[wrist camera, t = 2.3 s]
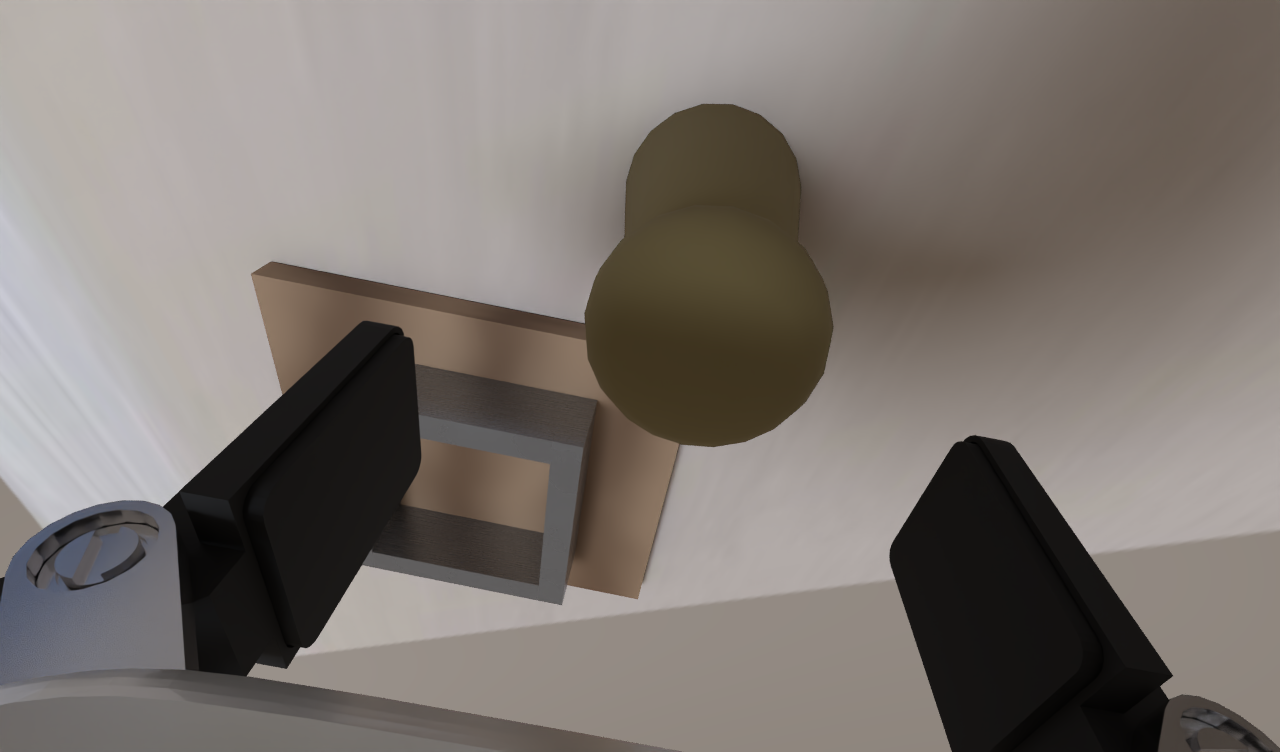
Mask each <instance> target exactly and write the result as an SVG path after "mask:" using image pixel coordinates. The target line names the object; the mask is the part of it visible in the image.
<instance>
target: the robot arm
mask: <svg viewBox="0 0 1280 752" xmlns="http://www.w3.org/2000/svg"><path fill="white" fill-rule="evenodd" d="M420 464H421V440H420V426H419V413H418V399H417V385H416V371H415V357H414V345H413V341H412V339H411V338H410V337H406V336H404V332H403V330H402V329H401V328H400V327H399V326H394V325H388V324H383V323H378V322H372V321H362V322H361V323H359V324H358V325H357V326H356V327H355V328H354V329H353V330H352V331H351V332H350V333H348V334H347V335H346V336H345V337H344V338H343V339H342V340H341V341H340V342H339V343H338V344H337V345H336V346H335V347H333V348H332V349H331V350H330V351H329V352H328V353H327V354H326V355H325V356H324V357H323V358H322V359H321V360H319V361H318V362H317V363H316V364H315V365H314V366H313V367H312V368H311V369H310V370H309V371H308V372H307V373H306V374H304V375H303V376H302V377H301V378H300V379H299V380H298V381H297V382H296V383H295V384H294V385H293V386H292V387H291V388H289V389H288V390H287V391H286V392H285V393H284V394H283V395H282V396H281V397H280V398H279V399H278V400H277V401H275V402H274V403H273V404H272V405H271V406H270V407H269V408H268V409H267V410H266V411H265V412H264V413H263V414H262V415H260V416H259V417H258V418H257V419H256V420H255V421H254V422H253V423H252V424H251V425H250V426H249V427H248V428H246V429H245V430H244V431H243V432H242V433H241V434H240V435H239V436H238V437H237V438H236V439H235V440H234V441H233V442H231V443H230V444H229V445H228V446H227V447H226V448H225V449H224V450H223V451H222V452H221V453H220V454H219V455H218V456H216V457H215V458H214V459H213V460H212V461H211V462H210V463H209V464H208V465H207V466H206V467H205V468H204V469H202V470H201V471H200V472H199V473H198V474H197V475H196V476H195V477H194V478H193V479H192V480H191V481H190V482H189V483H187V484H186V485H185V486H184V487H183V488H182V489H181V490H180V491H179V492H178V493H177V494H176V495H175V496H174V497H173V498H172V499H171V500H170V501H169V502H167V503H166V504H165V505H164V506H163V507H162V506H160V505H158V504H154V503H150V502H146V501H126V500H122V501H116V502H110V503H104V504H98V505H95V506H92V507H89V508H86V509H83V510H80V511H77V512H74V513H72V514H70V515H68V516H66V517H64V518H62V519H60V520H58V521H56V522H54V523H52V524H50V525H48V526H47V527H45V528H44V529H43V530H41V531H40V532H38V533H37V534H36V535H34V536H33V537H31V538H30V539H29V540H28V541H27V542H26V543H25V544H24V545H23V546H22V547H21V548H20V550H19V551H18V552H17V553H16V554H15V555H14V556H13V558H12V560H11V562H10V565H9V567H8V569H7V571H6V574H5V577H3V578H0V752H681V751H676V750H670V749H665V748H660V747H654V746H648V745H643V744H638V743H632V742H627V741H621V740H615V739H610V738H604V737H599V736H594V735H588V734H583V733H577V732H572V731H566V730H560V729H555V728H549V727H543V726H537V725H532V724H527V723H521V722H515V721H510V720H504V719H498V718H493V717H487V716H481V715H476V714H470V713H465V712H459V711H453V710H448V709H442V708H436V707H431V706H425V705H419V704H414V703H408V702H402V701H397V700H391V699H385V698H380V697H373V696H367V695H361V694H354V693H348V692H342V691H336V690H329V689H323V688H317V687H310V686H305V685H298V684H292V683H286V682H279V681H273V680H267V679H260V678H254V677H246V676H247V675H248V673H249V672H250V670H251V669H252V667H253V666H254V665H255V663H258V664H263V665H269V666H275V667H280V668H285V669H287V668H288V666H289V664H290V663H291V661H292V660H293V658H294V656H295V655H296V653H297V652H298V650H299V648H300V647H303V648H308V647H310V646H311V645H312V644H313V643H314V642H315V641H316V639H317V638H318V636H319V635H320V633H321V631H322V630H323V628H324V626H325V625H326V623H327V621H328V620H329V618H330V617H331V615H332V613H333V612H334V610H335V608H336V607H337V605H338V603H339V602H340V600H341V598H342V597H343V595H344V594H345V592H346V590H347V589H348V587H349V585H350V584H351V582H352V580H353V579H354V577H355V575H356V574H357V572H358V571H359V569H360V567H361V566H362V564H363V562H364V561H365V559H366V557H367V556H368V554H369V552H370V551H371V549H372V548H373V546H374V544H375V543H376V541H377V539H378V538H379V536H380V534H381V533H382V531H383V530H384V528H385V526H386V525H387V523H388V521H389V520H390V518H391V516H392V515H393V513H394V511H395V510H396V508H397V507H398V505H399V503H400V502H401V500H402V498H403V497H404V495H405V493H406V492H407V490H408V488H409V487H410V485H411V484H412V482H413V480H414V479H415V477H416V475H417V473H418V470H419V468H420ZM889 556H890V564H891V568H892V571H893V574H894V577H895V580H896V583H897V586H898V589H899V592H900V595H901V598H902V601H903V604H904V607H905V610H906V613H907V616H908V619H909V622H910V625H911V629H912V631H913V635H914V638H915V641H916V644H917V647H918V650H919V653H920V656H921V659H922V662H923V665H924V668H925V671H926V674H927V677H928V680H929V683H930V686H931V689H932V692H933V695H934V698H935V701H936V704H937V708H938V710H939V714H940V717H941V720H942V723H943V726H944V729H945V732H946V735H947V738H948V741H949V744H950V747H951V750H952V752H1280V748H1279V747H1278V746H1277V745H1276V744H1275V743H1274V742H1273V741H1272V740H1270V739H1269V738H1268V737H1267V736H1266V735H1265V734H1264V733H1263V732H1262V731H1260V730H1259V729H1257V728H1256V727H1255V726H1253V725H1252V724H1251V723H1249V722H1248V721H1247V720H1245V719H1244V718H1243V717H1241V716H1240V715H1238V714H1236V713H1234V712H1233V711H1231V710H1229V709H1227V708H1225V707H1224V706H1222V705H1220V704H1218V703H1216V702H1213V701H1210V700H1207V699H1205V698H1202V697H1199V696H1192V695H1179V696H1177V697H1174V698H1171V699H1168V698H1167V696H1166V695H1165V693H1164V692H1163V690H1162V689H1161V687H1160V686H1161V685H1162V684H1163V683H1165V682H1166V681H1167V680H1168V679H1170V678H1171V677H1172V676H1173V675H1172V673H1171V672H1170V671H1169V669H1168V668H1167V666H1166V665H1165V663H1164V662H1163V660H1162V659H1161V658H1160V656H1159V655H1158V653H1157V652H1156V650H1155V649H1154V648H1153V646H1152V645H1151V643H1150V642H1149V640H1148V639H1147V637H1146V636H1145V634H1144V633H1143V632H1142V630H1141V629H1140V627H1139V626H1138V624H1137V623H1136V621H1135V620H1134V619H1133V617H1132V616H1131V614H1130V613H1129V611H1128V610H1127V609H1126V607H1125V606H1124V604H1123V603H1122V601H1121V600H1120V599H1119V597H1118V596H1117V594H1116V593H1115V591H1114V590H1113V589H1112V587H1111V586H1110V584H1109V583H1108V581H1107V580H1106V578H1105V577H1104V575H1103V574H1102V573H1101V571H1100V570H1099V568H1098V567H1097V565H1096V564H1095V562H1094V561H1093V559H1092V558H1091V557H1090V555H1089V554H1088V552H1087V551H1086V549H1085V548H1084V546H1083V545H1082V544H1081V542H1080V541H1079V539H1078V538H1077V536H1076V535H1075V533H1074V532H1073V531H1072V529H1071V528H1070V526H1069V525H1068V523H1067V522H1066V521H1065V519H1064V518H1063V516H1062V515H1061V513H1060V512H1059V510H1058V509H1057V508H1056V506H1055V505H1054V503H1053V502H1052V500H1051V499H1050V497H1049V496H1048V495H1047V493H1046V492H1045V490H1044V489H1043V487H1042V486H1041V484H1040V483H1039V482H1038V480H1037V479H1036V477H1035V476H1034V474H1033V473H1032V471H1031V470H1030V469H1029V467H1028V466H1027V464H1026V463H1025V461H1024V460H1023V458H1022V457H1021V456H1020V454H1019V453H1018V451H1017V450H1016V448H1015V447H1014V446H1013V445H1012V444H1011V443H1009V442H1006V441H1002V440H997V439H991V438H986V437H981V436H976V435H974V436H969V437H968V438H966V439H965V440H964V441H963V442H962V441H961V442H957V443H955V444H954V445H953V446H952V448H951V449H950V451H949V453H948V454H947V456H946V457H945V459H944V461H943V462H942V464H941V465H940V467H939V469H938V470H937V472H936V473H935V475H934V477H933V478H932V480H931V482H930V483H929V485H928V486H927V488H926V490H925V491H924V493H923V494H922V496H921V498H920V499H919V501H918V502H917V504H916V506H915V507H914V509H913V511H912V512H911V514H910V515H909V517H908V519H907V520H906V522H905V523H904V525H903V527H902V528H901V530H900V531H899V533H898V535H897V536H896V538H895V539H894V541H893V543H892V545H891V548H890V555H889Z"/></svg>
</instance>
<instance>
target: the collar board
mask: <svg viewBox="0 0 1280 752" xmlns="http://www.w3.org/2000/svg"><path fill="white" fill-rule="evenodd" d="M251 276H252V280H253V283H254V287H255V291H256V295H257V299H258V302H259V306H260V310H261V314H262V318H263V322H264V325H265V329H266V333H267V337H268V341H269V345H270V348H271V352H272V356H273V360H274V364H275V368H276V371H277V375H278V379H279V383H280V387H281V391H282V394H284V393H285V392H286V391H287V390H288V389H289V388H291V387H292V386H293V385H294V384H295V383H296V382H297V381H298V380H299V379H300V378H301V377H302V376H303V375H304V374H306V373H307V372H308V371H309V370H310V369H311V368H312V367H313V366H314V365H315V364H316V363H317V362H318V361H319V360H321V359H322V358H323V357H324V356H325V355H326V354H327V353H328V352H329V351H330V350H331V349H332V348H333V347H335V346H336V345H337V344H338V343H339V342H340V341H341V340H342V339H343V338H344V337H345V336H346V335H347V334H348V333H350V332H351V331H352V330H353V329H354V328H355V327H356V326H357V325H358V324H359V323H361V322H362V321H372V322H378V323H383V324H388V325H394V326H399V327H400V328H401V329H402V330H403V332H404V336H406V337H410V338H411V339H412V341H413V345H414V357H415V364H419V365H424V366H429V367H434V368H439V369H444V370H449V371H454V372H459V373H464V374H469V375H474V376H480V377H485V378H490V379H495V380H500V381H505V382H510V383H515V384H520V385H525V386H530V387H535V388H540V389H545V390H550V391H555V392H560V393H565V394H570V395H575V396H580V397H585V398H590V399H595V400H597V407H596V414H595V420H594V427H593V434H592V441H591V448H590V455H589V461H588V468H587V475H586V482H585V489H584V496H583V502H582V509H581V516H580V523H579V530H578V537H577V543H576V550H575V556H574V560H573V564H572V568H571V571H570V575H569V579H568V583H567V585H570V586H575V587H580V588H585V589H590V590H595V591H600V592H605V593H610V594H615V595H620V596H625V597H630V598H634V599H638V596H639V592H640V589H641V585H642V581H643V577H644V574H645V570H646V566H647V562H648V559H649V555H650V551H651V548H652V544H653V540H654V536H655V533H656V529H657V525H658V521H659V518H660V514H661V510H662V507H663V503H664V499H665V495H666V492H667V488H668V484H669V480H670V477H671V473H672V469H673V465H674V462H675V458H676V454H677V451H678V447H679V443H676V442H673V441H669V440H666V439H663V438H660V437H657V436H654V435H652V434H650V433H649V432H647V431H646V430H644V429H642V428H641V427H639V426H638V425H636V424H635V423H633V422H631V421H630V420H628V419H627V418H626V417H625V416H624V415H623V413H622V412H621V411H620V410H619V409H618V408H617V407H616V406H615V404H614V403H613V402H612V401H611V400H610V399H609V398H608V397H607V395H606V394H605V393H604V392H603V391H602V389H601V388H600V386H599V384H598V382H597V379H596V377H595V375H594V372H593V370H592V368H591V366H590V363H589V361H588V357H587V344H586V328H585V324H582V323H577V322H572V321H567V320H562V319H557V318H552V317H547V316H542V315H537V314H532V313H527V312H522V311H517V310H512V309H507V308H502V307H497V306H492V305H486V304H481V303H476V302H471V301H466V300H461V299H456V298H451V297H446V296H441V295H436V294H431V293H426V292H421V291H416V290H411V289H406V288H401V287H396V286H391V285H386V284H381V283H376V282H371V281H366V280H361V279H356V278H351V277H346V276H340V275H335V274H330V273H325V272H320V271H315V270H310V269H305V268H300V267H295V266H290V265H285V264H280V263H275V262H269V263H268V264H266V265H265V266H263V267H261V268H260V269H258V270H256V271H255V272H253V273H252V274H251ZM420 440H421V464H420V468H419V470H418V473H417V475H416V477H415V479H414V480H413V482H412V484H411V485H410V487H409V488H408V490H407V492H406V493H405V495H404V497H403V498H402V500H401V504H402V505H407V506H412V507H417V508H422V509H427V510H432V511H437V512H442V513H447V514H452V515H457V516H462V517H467V518H472V519H477V520H482V521H487V522H492V523H497V524H502V525H507V526H512V527H517V528H522V529H527V530H532V531H537V532H542V533H544V524H545V514H546V503H547V492H548V481H549V470H550V464H547V463H542V462H537V461H532V460H527V459H522V458H517V457H512V456H507V455H502V454H497V453H492V452H487V451H482V450H477V449H472V448H467V447H462V446H457V445H452V444H447V443H442V442H437V441H432V440H427V439H422V438H420Z"/></svg>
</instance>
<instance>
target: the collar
mask: <svg viewBox="0 0 1280 752" xmlns="http://www.w3.org/2000/svg"><path fill="white" fill-rule="evenodd" d="M415 371H416V385H417V399H418V413H419V426H420V438H422V439H427V440H432V441H437V442H442V443H447V444H452V445H457V446H462V447H467V448H472V449H477V450H482V451H487V452H492V453H497V454H502V455H507V456H512V457H517V458H522V459H527V460H532V461H537V462H542V463H547V464H550V470H549V481H548V492H547V503H546V514H545V524H544V533H542V532H537V531H532V530H527V529H522V528H517V527H512V526H507V525H502V524H497V523H492V522H487V521H482V520H477V519H472V518H467V517H462V516H457V515H452V514H447V513H442V512H437V511H432V510H427V509H422V508H417V507H412V506H407V505H402V504H401V502H400V503H399V505H398V507H397V508H396V510H395V511H394V513H393V515H392V516H391V518H390V520H389V521H388V523H387V525H386V526H385V528H384V530H383V531H382V533H381V534H380V536H379V538H378V539H377V541H376V543H375V544H374V546H373V548H372V549H371V551H370V552H369V554H368V556H367V557H366V559H365V561H364V562H363V564H362V565H365V566H370V567H375V568H379V569H384V570H389V571H394V572H399V573H404V574H409V575H414V576H419V577H424V578H429V579H434V580H439V581H444V582H449V583H454V584H459V585H464V586H469V587H474V588H479V589H484V590H489V591H494V592H499V593H504V594H509V595H514V596H519V597H524V598H529V599H534V600H539V601H544V602H549V603H554V604H559V605H562V603H563V599H564V595H565V591H566V587H567V583H568V579H569V575H570V571H571V568H572V564H573V560H574V556H575V550H576V543H577V537H578V530H579V523H580V516H581V509H582V502H583V496H584V489H585V482H586V475H587V468H588V461H589V455H590V448H591V441H592V434H593V427H594V420H595V414H596V407H597V400H595V399H590V398H585V397H580V396H575V395H570V394H565V393H560V392H555V391H550V390H545V389H540V388H535V387H530V386H525V385H520V384H515V383H510V382H505V381H500V380H495V379H490V378H485V377H480V376H474V375H469V374H464V373H459V372H454V371H449V370H444V369H439V368H434V367H429V366H424V365H419V364H415Z"/></svg>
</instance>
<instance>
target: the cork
mask: <svg viewBox="0 0 1280 752" xmlns="http://www.w3.org/2000/svg"><path fill="white" fill-rule="evenodd" d="M800 196H801V184H800V178H799V172H798V166H797V160H796V158H795V156H794V154H793V152H792V150H791V149H790V147H789V145H788V143H787V141H786V140H785V138H784V136H783V134H782V133H781V132H779V131H778V130H777V129H776V128H775V127H774V126H773V125H771V124H770V123H769V122H768V121H767V120H766V119H764V118H763V117H762V116H761V115H759V114H757V113H754V112H751V111H749V110H746V109H743V108H741V107H738V106H736V105H733V104H701V105H698V106H695V107H692V108H689V109H686V110H683V111H680V112H677V113H674V114H673V115H672V116H670V117H669V118H668V119H666V120H665V121H664V122H662V123H661V124H660V125H658V126H657V127H656V128H654V129H653V130H652V131H651V132H650V133H649V134H648V136H647V137H646V139H645V140H644V142H643V143H642V144H641V146H640V147H639V149H638V150H637V152H636V153H635V155H634V157H633V161H632V164H631V167H630V171H629V174H628V177H627V181H626V204H625V236H624V239H622V240H621V241H620V243H619V244H618V245H617V247H616V248H615V249H614V251H613V252H612V253H611V255H610V256H609V257H608V259H607V260H606V261H605V263H604V264H603V265H602V267H601V268H600V270H599V272H598V274H597V276H596V278H595V280H594V284H593V287H592V290H591V293H590V297H589V300H588V303H587V307H586V310H585V328H586V344H587V357H588V361H589V363H590V366H591V368H592V370H593V372H594V375H595V377H596V379H597V382H598V384H599V386H600V388H601V389H602V391H603V392H604V393H605V394H606V395H607V397H608V398H609V399H610V400H611V401H612V402H613V403H614V404H615V406H616V407H617V408H618V409H619V410H620V411H621V412H622V413H623V415H624V416H625V417H626V418H627V419H628V420H630V421H631V422H633V423H635V424H636V425H638V426H639V427H641V428H642V429H644V430H646V431H647V432H649V433H650V434H652V435H654V436H657V437H660V438H663V439H666V440H669V441H673V442H676V443H679V444H682V445H694V446H707V447H717V446H723V445H729V444H735V443H741V442H746V441H748V440H750V439H753V438H755V437H757V436H759V435H762V434H764V433H766V432H769V431H771V430H773V429H775V428H776V427H777V426H778V425H779V424H781V423H782V422H783V421H784V420H785V419H787V418H788V417H789V416H790V415H792V414H793V413H794V412H795V411H796V410H798V409H799V408H800V407H801V406H802V405H803V404H804V403H805V402H806V401H807V399H808V398H809V396H810V394H811V393H812V391H813V390H814V388H815V387H816V385H817V383H818V382H819V380H820V379H821V377H822V376H823V374H824V370H825V366H826V361H827V357H828V352H829V347H830V343H831V338H832V332H833V321H832V315H831V309H830V303H829V296H828V291H827V288H826V286H825V283H824V281H823V278H822V277H821V275H820V273H819V272H818V270H817V268H816V267H815V265H814V263H813V261H812V260H811V258H810V256H809V255H808V253H807V251H806V250H805V248H804V247H803V246H802V245H801V244H799V243H798V229H799V213H800Z"/></svg>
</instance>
